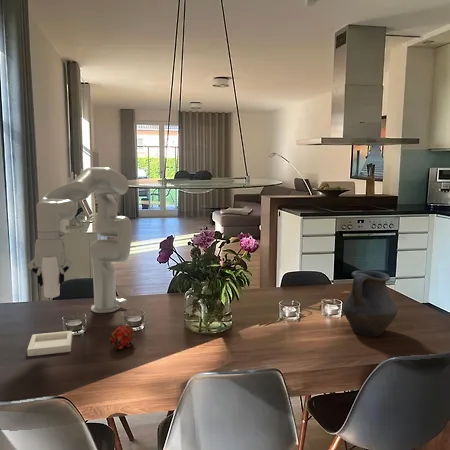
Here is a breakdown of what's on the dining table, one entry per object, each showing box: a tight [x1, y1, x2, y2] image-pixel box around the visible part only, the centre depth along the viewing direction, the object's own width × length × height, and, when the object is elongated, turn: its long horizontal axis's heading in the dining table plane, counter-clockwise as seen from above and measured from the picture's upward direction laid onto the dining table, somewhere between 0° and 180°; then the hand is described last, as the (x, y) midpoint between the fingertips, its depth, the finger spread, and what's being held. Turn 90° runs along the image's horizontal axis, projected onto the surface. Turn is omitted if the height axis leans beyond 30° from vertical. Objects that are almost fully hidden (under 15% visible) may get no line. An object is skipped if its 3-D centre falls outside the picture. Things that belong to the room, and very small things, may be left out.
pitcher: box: [342, 269, 399, 338], centre depth 177 cm, size 21×22×25 cm
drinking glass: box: [41, 257, 61, 299], centre depth 165 cm, size 7×7×15 cm
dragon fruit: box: [109, 324, 137, 351], centre depth 164 cm, size 8×8×12 cm
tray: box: [27, 330, 73, 357], centre depth 165 cm, size 14×14×2 cm
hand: (51, 284), depth 165 cm, fingers closed on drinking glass, 6 cm apart
